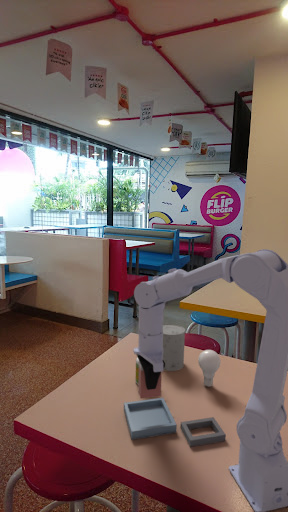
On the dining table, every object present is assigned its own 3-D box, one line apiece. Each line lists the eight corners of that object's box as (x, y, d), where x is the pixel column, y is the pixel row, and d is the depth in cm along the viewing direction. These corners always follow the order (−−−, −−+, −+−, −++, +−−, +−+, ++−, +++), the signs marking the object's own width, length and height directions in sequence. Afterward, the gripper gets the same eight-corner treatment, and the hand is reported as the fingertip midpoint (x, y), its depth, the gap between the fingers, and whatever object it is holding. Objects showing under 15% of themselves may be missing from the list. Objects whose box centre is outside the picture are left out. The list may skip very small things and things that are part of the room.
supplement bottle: (132, 383, 89) (132, 352, 88) (140, 375, 94) (141, 345, 93) (148, 388, 87) (149, 357, 86) (156, 379, 92) (157, 349, 90)
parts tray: (176, 432, 70) (176, 424, 69) (131, 439, 67) (131, 431, 67) (163, 404, 80) (163, 397, 80) (123, 409, 77) (123, 402, 77)
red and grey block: (160, 395, 72) (161, 364, 71) (140, 398, 71) (141, 366, 70) (157, 390, 74) (158, 359, 73) (138, 392, 73) (138, 361, 72)
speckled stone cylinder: (152, 368, 99) (153, 332, 97) (159, 355, 108) (160, 322, 106) (181, 373, 96) (182, 336, 94) (185, 359, 105) (187, 326, 103)
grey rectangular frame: (225, 440, 67) (225, 434, 67) (189, 446, 65) (190, 440, 65) (213, 422, 73) (213, 417, 73) (180, 427, 71) (180, 422, 71)
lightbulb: (219, 393, 85) (221, 357, 84) (196, 390, 86) (198, 354, 85) (218, 381, 91) (220, 347, 90) (197, 378, 93) (199, 345, 91)
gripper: (128, 321, 76) (127, 371, 78) (141, 345, 62) (139, 405, 64) (155, 319, 78) (153, 368, 80) (173, 342, 64) (171, 401, 66)
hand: (149, 384), depth 72 cm, fingers closed on red and grey block, 2 cm apart
